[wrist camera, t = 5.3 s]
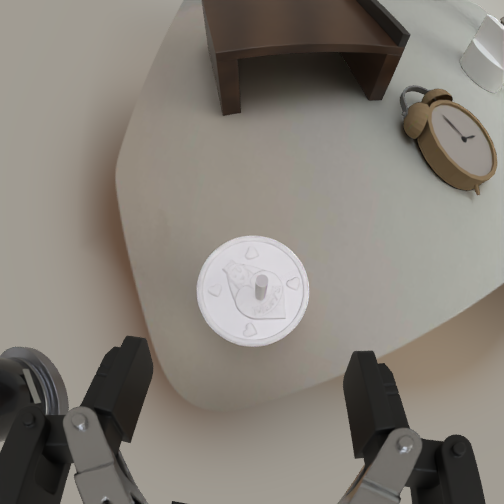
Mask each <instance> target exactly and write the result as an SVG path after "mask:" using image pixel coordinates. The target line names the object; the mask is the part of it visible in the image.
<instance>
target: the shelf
mask: <svg viewBox="0 0 504 504" xmlns="http://www.w3.org/2000/svg"><path fill="white" fill-rule="evenodd" d="M202 6H203V14H204V21H205V28H206V36H207V43H208V50H209V54H210V59H211V63H212V68H213V72H214V77H215V81H216V86H217V90H218V95H219V99H220V104H221V108H222V113H223V116H224V115H229V114H235V113H241V109H240V91H239V73H238V59H241V58H249V57H257V56H267V55H277V54H291V53H310V52H339V53H340V54H341V56H342V57H343V59H344V60H345V62H346V63H347V65H348V67H349V68H350V70H351V71H352V73H353V75H354V76H355V78H356V79H357V81H358V83H359V84H360V86H361V88H362V89H363V91H364V93H365V95H366V96H367V98H368V100H382V98H383V96H384V94H385V92H386V90H387V87H388V85H389V83H390V81H391V79H392V76H393V74H394V72H395V70H396V67H397V65H398V63H399V60H400V58H401V56H402V53H403V51H404V49H405V46H406V44H407V42H408V39H409V37H410V34H409V33H408V31H407V30H406V29H405V28H404V27H403V26H402V25H401V24H400V23H399V22H398V21H397V20H396V19H395V18H394V17H393V16H392V15H391V14H390V13H389V12H388V11H387V10H386V9H385V8H384V7H383V6H382V5H381V4H380V3H379V2H378V1H377V0H202Z"/></svg>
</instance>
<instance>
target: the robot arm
mask: <svg viewBox="0 0 504 504" xmlns="http://www.w3.org/2000/svg"><path fill="white" fill-rule="evenodd" d="M152 374H153V362H152V359H151V355H150V351H149V347H148V343H147V340H146V339H145V338H140V337H133V336H126V338H125V339H124V341H123V343H122V345H121V347H113V348H112V349H111V350H110V351H109V352H108V353H107V354H106V355H105V356H104V358H103V360H102V362H101V364H100V367H99V368H98V370H97V372H96V375H95V376H94V379H93V381H92V383H91V385H90V387H89V389H88V391H87V393H86V395H85V397H84V400H83V402H82V404H81V405H80V406H79V407H76V408H73V409H71V410H70V411H68V412H67V414H66V415H50V398H49V393H48V390H47V387H46V384H45V382H44V380H43V378H42V376H41V375H40V373H39V372H38V370H37V369H36V368H35V367H34V366H33V365H32V364H31V363H30V362H29V361H27V360H25V359H23V358H19V357H10V358H0V442H1V441H5V443H4V445H3V447H2V450H1V452H0V504H60V502H61V498H62V494H63V491H64V487H65V483H66V480H67V476H68V473H69V470H70V466H71V463H74V464H75V467H76V471H77V473H76V474H75V475H74V479H75V483H76V485H77V488H78V491H79V494H80V496H81V499H82V501H83V504H148V503H147V501H146V499H145V498H144V496H143V495H142V493H141V492H140V490H139V489H138V487H137V485H136V484H135V482H134V480H133V478H132V476H131V473H130V472H129V469H128V468H127V465H126V463H125V461H124V459H123V457H122V454H121V452H120V450H119V447H120V444H121V441H124V442H128V443H131V440H132V436H133V433H134V430H135V427H136V424H137V421H138V417H139V414H140V412H141V409H142V406H143V403H144V399H145V397H146V394H147V391H148V388H149V385H150V382H151V379H152ZM343 390H344V395H345V401H346V407H347V412H348V418H349V424H350V430H351V437H352V443H353V450H354V456H355V459H356V458H364V462H365V465H364V466H363V468H362V469H361V471H360V472H359V474H358V475H357V477H356V478H355V480H354V482H353V483H352V484H351V486H350V487H349V489H348V490H347V491H346V493H345V495H344V496H343V497H342V498H341V500H340V501H339V502H338V504H399V503H400V500H401V498H400V493H401V491H402V489H403V487H404V486H406V487H410V489H411V497H412V504H485V499H484V494H483V489H482V485H481V480H480V476H479V472H478V468H477V464H476V460H475V456H474V453H473V449H472V446H471V443H470V442H469V440H468V439H466V438H465V437H464V436H461V435H451V436H449V437H448V438H446V439H445V441H444V442H443V441H434V440H426V439H422V438H420V436H419V435H418V434H417V433H416V432H415V431H414V430H412V429H410V427H409V425H408V422H407V418H406V415H405V411H404V408H403V405H402V401H401V398H400V395H399V394H398V393H399V392H398V389H397V386H396V382H395V379H394V377H393V373H392V372H391V371H390V369H389V368H388V367H387V366H386V365H385V363H382V364H378V363H377V360H376V357H375V354H374V352H373V351H354V352H353V354H352V356H351V359H350V362H349V364H348V367H347V370H346V372H345V375H344V381H343ZM172 504H185V503H179V502H174V501H172Z"/></svg>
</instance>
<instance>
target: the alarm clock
mask: <svg viewBox="0 0 504 504" xmlns="http://www.w3.org/2000/svg"><path fill="white" fill-rule="evenodd" d="M410 91H415V92H419V93H422V94H424V97H423V99H422V103H419V102H418V103H415V104H413V105H411V106H410V107H409V109H408V108H407V104H406V101H405V93H407V92H410ZM452 100H453V99H452V96H451V95H450V94H449V93H448V92H447V91H445V90H443V89H434V90H427V89H425V88H422V87H420V86H414V85H413V86H409V87H406V88H405V90H404V91H403V93H402V94H401V96H400V104H401V107H402V110H403V112H402V115H403V116H404V129H405V132H406V134H407V135H408V136H409V137H411V138H412V139H416V138H417V140H418V144H419V147H420V149H421V151H422V153H423V155H424V158H425V159H426V161H427V162H428V163H429V165H430V166H431V167H432V169H433V170H434V172H436V173H437V174H438V175H439V176H440V177H441V178H442V179H443V180H444V181H445V182H447V183H448V184H450V185H452V186H454V187H455V188H458V189H462V190H466V191H467V190H472V189H475V192H476V194H477V195H480V191H479V185H481V184H482V183H484V182H485V181H487V180H489V179H490V178H491V177H492V176H493V175H494V174H495V171H496V168H497V154H496V151H495V148H494V145H493V142H492V140H491V138H490V136H489V134H488V132H487V131H486V129H485V128H484V127H483V125H482V124H481V123H480V121H479V120H478V119H477V118H476V117H475V116H474V115H473V114H472V113H471V112H470V111H468V110H467V109H465V108H464V107H462V106H461V105H459V104H457V103H454V102H452Z"/></svg>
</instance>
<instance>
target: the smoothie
mask: <svg viewBox="0 0 504 504" xmlns="http://www.w3.org/2000/svg"><path fill="white" fill-rule="evenodd" d="M308 299H309V282H308V277H307V274H306V271H305V269H304V266H303V265H302V263H301V261H300V260H299V258H298V257H297V256H296V255H295V253H294V252H292V251H291V250H290V249H289V248H288V247H287V246H285V245H284V244H282V243H280V242H278V241H276V240H274V239H271V238H268V237H263V236H243V237H238V238H235V239H232V240H230V241H228V242H226V243H224V244H222V245H221V246H219V247H218V248H217V249H216V250H215V251H213V252H212V254H211V255H210V256H209V257H208V258H207V260H206V261H205V263H204V265H203V267H202V269H201V271H200V274H199V277H198V282H197V300H198V304H199V308H200V311H201V313H202V315H203V317H204V319H205V320H206V322H207V323H208V325H209V326H210V327H211V328H212V329H213V331H214V332H216V333H217V334H218V335H220V336H221V337H222V338H224V339H225V340H227V341H229V342H232V343H234V344H237V345H240V346H249V347H258V346H264V345H270V344H272V343H274V342H276V341H278V340H280V339H283V338H284V337H285V336H286V335H287V334H289V333H290V332H291V331H292V330H293V329H294V328H295V327H296V326H297V324H298V323H299V322H300V320H301V319H302V317H303V315H304V313H305V310H306V308H307V304H308Z"/></svg>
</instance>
